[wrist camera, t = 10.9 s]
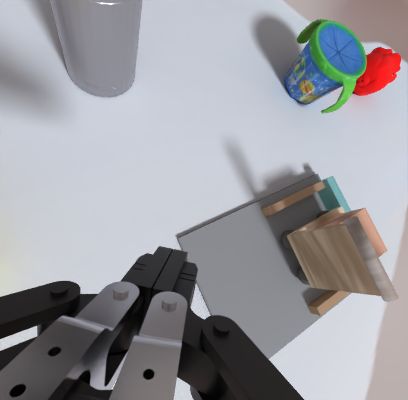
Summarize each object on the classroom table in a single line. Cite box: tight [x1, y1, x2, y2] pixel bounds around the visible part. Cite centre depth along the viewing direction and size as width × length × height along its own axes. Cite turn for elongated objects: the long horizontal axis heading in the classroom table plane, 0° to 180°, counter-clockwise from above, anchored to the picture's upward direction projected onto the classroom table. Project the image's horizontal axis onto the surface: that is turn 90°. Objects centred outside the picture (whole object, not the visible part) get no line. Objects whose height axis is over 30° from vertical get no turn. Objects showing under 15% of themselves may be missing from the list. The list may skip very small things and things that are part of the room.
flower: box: [354, 47, 401, 96], centre depth 52 cm, size 8×8×8 cm
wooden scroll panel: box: [281, 206, 398, 302], centre depth 34 cm, size 11×9×14 cm
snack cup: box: [285, 19, 367, 113], centre depth 45 cm, size 16×10×10 cm
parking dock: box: [178, 174, 352, 359], centre depth 38 cm, size 28×20×4 cm
